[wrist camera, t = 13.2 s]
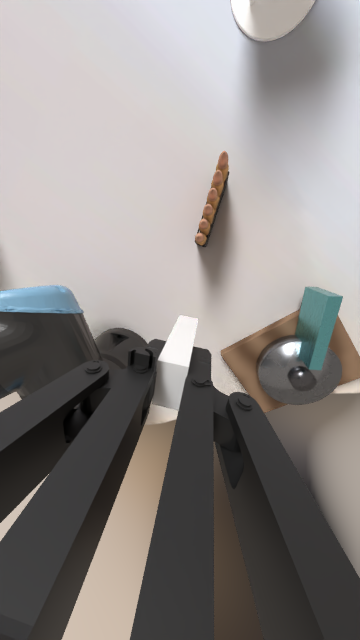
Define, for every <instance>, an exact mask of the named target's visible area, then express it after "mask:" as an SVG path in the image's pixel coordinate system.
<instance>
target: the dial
mask: <svg viewBox="0 0 360 640" xmlns="http://www.w3.org/2000/svg"><path fill="white" fill-rule="evenodd" d="M342 298H343V296H340V295H337V294H335V293H332V292H329V291H326V290H324V289H321V288H318V287H305V291H304V296H303V300H302V305H301V309H300V314H299V318H298V323H297V327H296V332H295V335H288V336H284V337H281V338H278V339H276V340H274V341H272V342H271V343H269V344H268V345H267V346H266V347H265V348H264V349H263V350H262V351H261V353H260V355H259V356H258V359H257V363H256V371H257V375H258V378H259V380H260V383H261V385H262V388H263V389H264V391H265V392H266V393H267V394H268V395H269V396H270V397H272V398H273V399H275V400H277V401H279V402H282V403H286V404H293V405H302V404H309V403H313V402H316V401H318V400H321V399H323V398H324V397H326V396H327V395H329V394H330V393H331V392H332V391H333V390H334V389H335V388H336V387H337V385H338V384H339V382H340V380H341V376H342V365H341V361H340V359H339V358H338V356H337V355H336V354H335V353H334V352H333V351H332V350H331V349H330V348H329V347H328V346H329V342H330V339H331V335H332V332H333V329H334V325H335V322H336V319H337V315H338V312H339V308H340V305H341V302H342Z"/></svg>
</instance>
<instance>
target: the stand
mask: <svg viewBox="0 0 360 640" xmlns="http://www.w3.org/2000/svg"><path fill="white" fill-rule="evenodd" d="M299 314H300V309H299V310H298V311H296V312H294V313H292V314H290V315H288V316H286V317H284V318H282V319H280V320H278V321H277V322H275V323H273V324H271V325H269V326H267V327H265V328H263V329H261V330H259V331H258V332H256V333H254V334H252V335H250V336H248V337H246V338H244V339H242V340H240V341H239V342H237V343H235V344H233V345H231V346H229V347H227V348H225V349H223V350H221V356H222V357H223V359H224V360H225V361H226V363H227V364H228V366H229V367H230V368H231V370H232V371H233V373H234V374H235V375H236V377H237V378H238V379H239V381H240V382H241V384H242V385H243V386H244V388H245V389H246V391H247V392H248V393H249V395H250V396H251V397H252V398H254V399H255V400H256V401H257V403H258V404H259V405H260V407H261V409H262V411H263V412H264V413H266V412H268V411H271V410H273V409H276V408H279V407H282V406H284V405H287V404H286V403H282V402H279V401H277V400H275V399H273V398H272V397H270V396H269V395H268V394H267V393H266V392H265V391H264V389H263V388H262V385H261V383H260V380H259V378H258V375H257V371H256V363H257V359H258V356H259V355H260V353H261V351H262V350H263V349H264V348H265V347H266V346H267V345H268V344H269V343H271V342H272V341H274V340H276V339H278V338H281V337H284V336H288V335H295V332H296V327H297V323H298V318H299ZM328 347H329V348H330V349H331V350H332V351H333V352H334V353H335V354H336V355H337V356H338V358H339V359H340V361H341V365H342V376H341V380H340V382H339V384H338V385H337V386H339V385H342V384H344V383H347V382H350V381H352V380H355V379H358V378H360V356H359V354H358V352H357V351H356V349H355V347H354V345H353V343H352V341H351V339H350V337H349V336H348V334H347V332H346V330H345V328H344V326H343V324H342V322H341V320H340V319H339V317H338V315H337V319H336V322H335V325H334V329H333V332H332V335H331V339H330V342H329V346H328Z"/></svg>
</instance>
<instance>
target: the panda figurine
mask: <svg viewBox="0 0 360 640" xmlns="http://www.w3.org/2000/svg"><path fill="white" fill-rule="evenodd" d="M230 2H231V8H232V12H233V15H234V18H235V20H236V22H237V24H238V26H239V27H240V29H241V30H242V31H243V32H244V33H245V34H246V35H247V36H248V37H250V38H252V39H254V40H257V41H263V42H264V41H273V40H276V39H279V38H281V37H283V36H285V35H286V34H288V33H289V32H290V31H292V30H293V29H294V28H295V27H296V26H297V25H298V24H299V23H300V22H301V21H302V20H303V19H304V17H305V16H306V15H307V13H308V12H309V11H310V9H311V7H312V6H313V4H314V2H315V0H230Z"/></svg>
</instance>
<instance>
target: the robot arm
mask: <svg viewBox="0 0 360 640" xmlns="http://www.w3.org/2000/svg"><path fill="white" fill-rule="evenodd" d="M83 313H84V312H83V310H81V308H80V307H79V305H78V303H77V301H76V299H75V297H74V295H73V293H72V291H71V290H70V289H68V288H67V287H64V286H60V285H50V286H38V287H29V288H20V289H12V290H5V291H0V399H1V398H3V397H5V396H7V395H9V394H11V393H13V392H17V393H18V394H19V395H20V397H21V399H22V400H20V401H19V402H17V403H15V404H14V405H12V406H10V407H9V408H7V409H5V410H3V411H2V412H0V523H1V522H2V521H3V520H4V519H5V518H6V517H7V516H8V515H9V514H10V513H11V512H12V511H13V510H14V508H16V507H17V506H18V505H19V504H20V503H21V501H23V500H24V498H25V497H26V496H27V495H28V494H29V493H30V492H31V491H32V490H33V489H34V488H35V487H36V486H37V485H38V484H39V483H40V482H41V481H42V480H43V479H44V478H45V477H46V476H47V475H48V474H49V473H50V474H49V475H48V476H47V478H46V479H45V481H44V482H43V483H42V485H41V486H40V488H39V489H38V490H37V492H36V493H35V494H34V496H33V497H32V499H31V500H30V501H29V503H28V504H27V506H26V507H25V509H24V510H23V511H22V512H21V514H20V515H19V517H18V518H17V519H16V521H15V522H14V524H13V525H12V526H11V528H10V529H9V530H8V532H7V533H6V535H5V536H4V538H3V539H2V540H1V541H0V640H61V639H62V637H63V634H64V632H65V629H66V626H67V624H68V621H69V619H70V616H71V614H72V611H73V608H74V606H75V603H76V600H77V598H78V595H79V593H80V590H81V587H82V585H83V582H84V580H85V577H86V575H87V572H88V569H89V567H90V564H91V562H92V559H93V556H94V554H95V551H96V549H97V546H98V543H99V541H100V538H101V536H102V533H103V530H104V528H105V525H106V523H107V520H108V517H109V515H110V512H111V510H112V507H113V504H114V502H115V499H116V496H117V494H118V491H119V489H120V486H121V484H122V481H123V478H124V476H125V473H126V471H127V468H128V465H129V463H130V460H131V458H132V455H133V452H134V450H135V447H136V445H137V442H138V440H139V436H140V434H141V432H142V429H143V426H144V424H145V421H146V419H147V416H148V414H149V408H150V403H151V401H152V404H154V405H158V406H162V407H166V408H171V409H175V410H179V411H178V416H177V421H176V425H175V430H174V435H173V439H172V444H171V449H170V453H169V458H168V463H167V468H166V472H165V477H164V482H163V486H162V491H161V496H160V500H159V505H158V510H157V515H156V519H155V525H154V529H153V533H152V538H151V543H150V547H149V553H148V557H147V562H146V567H145V571H144V576H143V580H142V585H141V590H140V595H139V600H138V604H137V609H136V613H135V618H134V623H133V627H132V632H131V637H130V640H214V518H213V517H214V507H213V506H214V500H213V499H214V492H213V488H214V487H213V486H214V485H213V484H214V482H213V481H214V479H213V477H214V473H213V441H215V445H216V449H217V453H218V457H219V461H220V465H221V469H222V473H223V477H224V481H225V485H226V489H227V493H228V497H229V501H230V506H231V509H232V514H233V518H234V522H235V526H236V530H237V533H238V538H239V542H240V546H241V550H242V553H243V558H244V561H245V566H246V570H247V573H248V578H249V581H250V586H251V590H252V594H253V597H254V602H255V606H256V610H257V614H258V618H259V622H260V625H261V630H262V634H263V638H264V640H360V578H359V576H358V575H357V573H356V571H355V569H354V568H353V566H352V564H351V563H350V561H349V559H348V557H347V556H346V554H345V552H344V551H343V549H342V547H341V545H340V544H339V542H338V540H337V538H336V537H335V535H334V533H333V531H332V530H331V528H330V526H329V525H328V523H327V521H326V519H325V518H324V516H323V514H322V512H321V511H320V509H319V507H318V506H317V504H316V502H315V501H314V499H313V497H312V495H311V494H310V492H309V490H308V488H307V487H306V485H305V483H304V481H303V480H302V478H301V476H300V474H299V473H298V471H297V469H296V468H295V466H294V464H293V462H292V461H291V459H290V457H289V455H288V454H287V452H286V450H285V449H284V447H283V445H282V443H281V442H280V440H279V438H278V436H277V435H276V433H275V431H274V430H273V428H272V426H271V424H270V423H269V421H268V419H267V417H266V416H265V414H264V412H263V411H262V409H261V407H260V405H259V404H258V403H257V401H256V400H255V399H254V398H252V397H251V396H249V395H247V394H245V393H241V392H234V393H232V394H230V396H227V395H225V394H223V393H221V392H220V391H218V390H217V389H216V388H215V387H214V386H213V383H212V381H211V353H210V352H209V350H207V349H202V348H198V347H193V343H194V338H195V333H196V328H197V324H198V319H197V318H192V317H187V316H182V315H180V316H179V318H178V320H177V322H176V324H175V326H174V328H173V330H172V332H171V334H170V336H169V338H168V340H167V341H162V340H158V339H154V340H152V341H150V342H149V343H148V344H147V343H146V341H145V340H144V339H143V338H142V337H141V336H139V335H138V334H136V333H135V332H133V331H130V330H127V329H123V328H114V329H110V330H107V331H105V332H104V333H102V334H101V335H100V336H98V337H97V338H96V339H95V341H94V339H93V337H92V334H91V332H90V330H89V327H88V325H87V323H86V320H85V318H84V315H83ZM152 398H153V399H152Z"/></svg>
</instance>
